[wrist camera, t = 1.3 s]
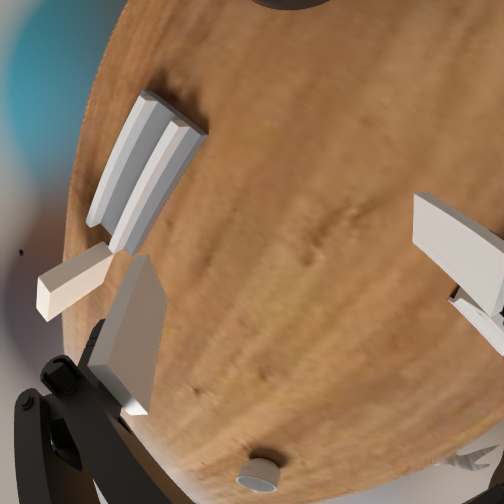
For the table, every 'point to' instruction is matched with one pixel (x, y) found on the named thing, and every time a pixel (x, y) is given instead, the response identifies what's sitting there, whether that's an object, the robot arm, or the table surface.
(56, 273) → the door panel
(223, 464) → the table surface
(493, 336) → the white and black console
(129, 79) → the table surface
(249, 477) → the teacup
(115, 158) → the track
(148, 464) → the robot arm
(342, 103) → the table surface
